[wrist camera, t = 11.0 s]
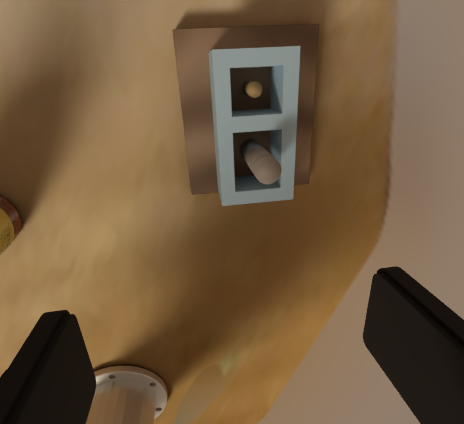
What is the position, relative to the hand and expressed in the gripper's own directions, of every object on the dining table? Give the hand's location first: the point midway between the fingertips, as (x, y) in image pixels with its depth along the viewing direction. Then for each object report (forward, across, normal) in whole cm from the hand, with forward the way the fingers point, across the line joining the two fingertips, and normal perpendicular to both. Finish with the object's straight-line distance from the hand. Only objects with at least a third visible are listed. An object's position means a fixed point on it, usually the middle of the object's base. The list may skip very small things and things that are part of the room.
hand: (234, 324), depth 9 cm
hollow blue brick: (+20, -5, -4) cm, 21 cm away
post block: (+22, -5, -4) cm, 23 cm away
